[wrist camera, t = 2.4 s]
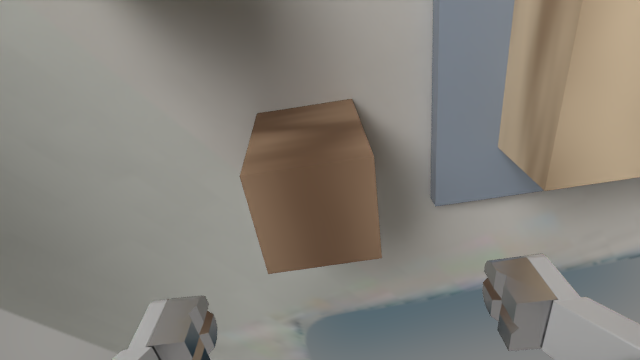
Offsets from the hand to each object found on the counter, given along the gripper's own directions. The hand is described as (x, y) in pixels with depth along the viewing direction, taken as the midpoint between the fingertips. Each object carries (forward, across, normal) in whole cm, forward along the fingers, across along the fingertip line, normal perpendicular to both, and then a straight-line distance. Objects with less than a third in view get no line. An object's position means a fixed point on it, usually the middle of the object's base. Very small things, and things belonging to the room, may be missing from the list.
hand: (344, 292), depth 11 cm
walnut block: (+9, +1, 0) cm, 9 cm away
